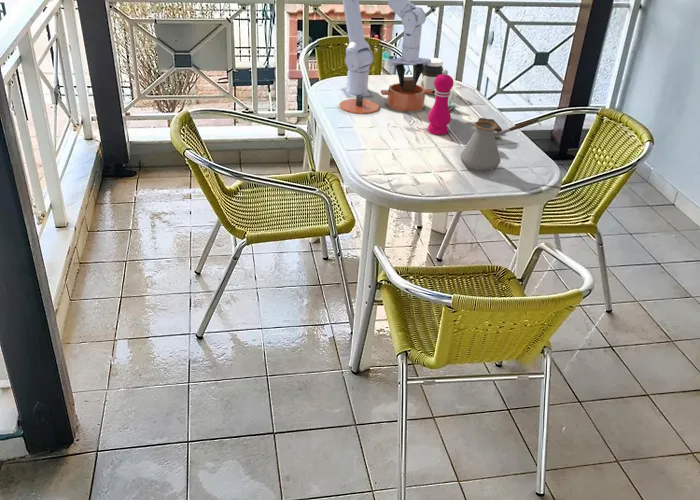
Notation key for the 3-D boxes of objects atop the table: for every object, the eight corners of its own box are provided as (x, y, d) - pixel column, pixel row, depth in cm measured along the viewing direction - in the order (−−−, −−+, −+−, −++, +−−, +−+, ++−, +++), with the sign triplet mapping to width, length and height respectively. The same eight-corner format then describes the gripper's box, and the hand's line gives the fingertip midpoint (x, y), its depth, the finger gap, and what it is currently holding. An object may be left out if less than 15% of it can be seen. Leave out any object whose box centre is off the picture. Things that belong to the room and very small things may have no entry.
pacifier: (442, 112, 234) (458, 111, 235) (443, 95, 230) (459, 94, 232) (434, 105, 240) (450, 104, 241) (435, 88, 236) (451, 87, 238)
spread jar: (416, 87, 257) (419, 56, 251) (445, 86, 259) (449, 56, 253) (425, 97, 247) (428, 65, 241) (454, 97, 249) (459, 65, 243)
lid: (335, 102, 237) (336, 89, 235) (373, 101, 240) (374, 88, 237) (343, 115, 226) (344, 102, 223) (382, 114, 228) (383, 101, 226)
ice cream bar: (506, 139, 215) (491, 122, 227) (506, 134, 214) (492, 118, 226) (490, 139, 214) (476, 122, 227) (490, 134, 213) (477, 117, 226)
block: (400, 88, 235) (401, 77, 233) (411, 88, 236) (412, 76, 234) (403, 92, 232) (404, 80, 230) (414, 91, 233) (415, 80, 231)
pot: (376, 101, 240) (377, 83, 237) (424, 100, 244) (426, 82, 241) (385, 113, 230) (386, 95, 227) (435, 112, 234) (437, 94, 230)
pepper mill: (448, 136, 214) (456, 74, 204) (425, 133, 215) (432, 71, 205) (449, 128, 220) (457, 67, 210) (427, 126, 221) (434, 65, 211)
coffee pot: (463, 175, 189) (471, 124, 182) (455, 158, 199) (462, 110, 191) (537, 176, 191) (548, 125, 184) (525, 159, 201) (534, 111, 194)
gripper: (393, 49, 221) (390, 90, 228) (435, 49, 224) (431, 89, 231) (388, 44, 227) (384, 83, 234) (429, 43, 230) (424, 83, 237)
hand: (407, 86), depth 233 cm, fingers closed on block, 4 cm apart
